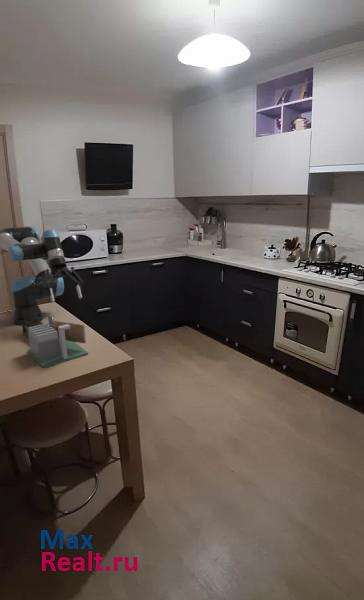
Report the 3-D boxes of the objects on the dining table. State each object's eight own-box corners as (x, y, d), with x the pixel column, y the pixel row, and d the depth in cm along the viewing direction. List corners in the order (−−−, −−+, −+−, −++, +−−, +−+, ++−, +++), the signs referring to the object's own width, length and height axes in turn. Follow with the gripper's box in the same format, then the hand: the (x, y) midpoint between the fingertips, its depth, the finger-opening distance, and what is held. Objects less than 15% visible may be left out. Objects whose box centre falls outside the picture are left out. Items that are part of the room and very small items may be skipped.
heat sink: (27, 351, 154) (23, 320, 150) (70, 340, 166) (66, 310, 161) (42, 367, 139) (37, 333, 135) (88, 354, 151) (85, 322, 146)
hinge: (50, 343, 158) (46, 318, 155) (53, 341, 160) (50, 316, 157) (84, 349, 152) (81, 323, 148) (87, 347, 154) (85, 321, 150)
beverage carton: (38, 330, 179) (37, 317, 177) (56, 340, 166) (55, 327, 164) (22, 334, 173) (20, 321, 171) (39, 345, 160) (38, 332, 158)
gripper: (32, 258, 167) (42, 301, 163) (83, 255, 182) (93, 294, 178) (29, 264, 173) (39, 305, 169) (78, 260, 188) (88, 298, 184)
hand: (67, 299), depth 174 cm, fingers open, 13 cm apart
